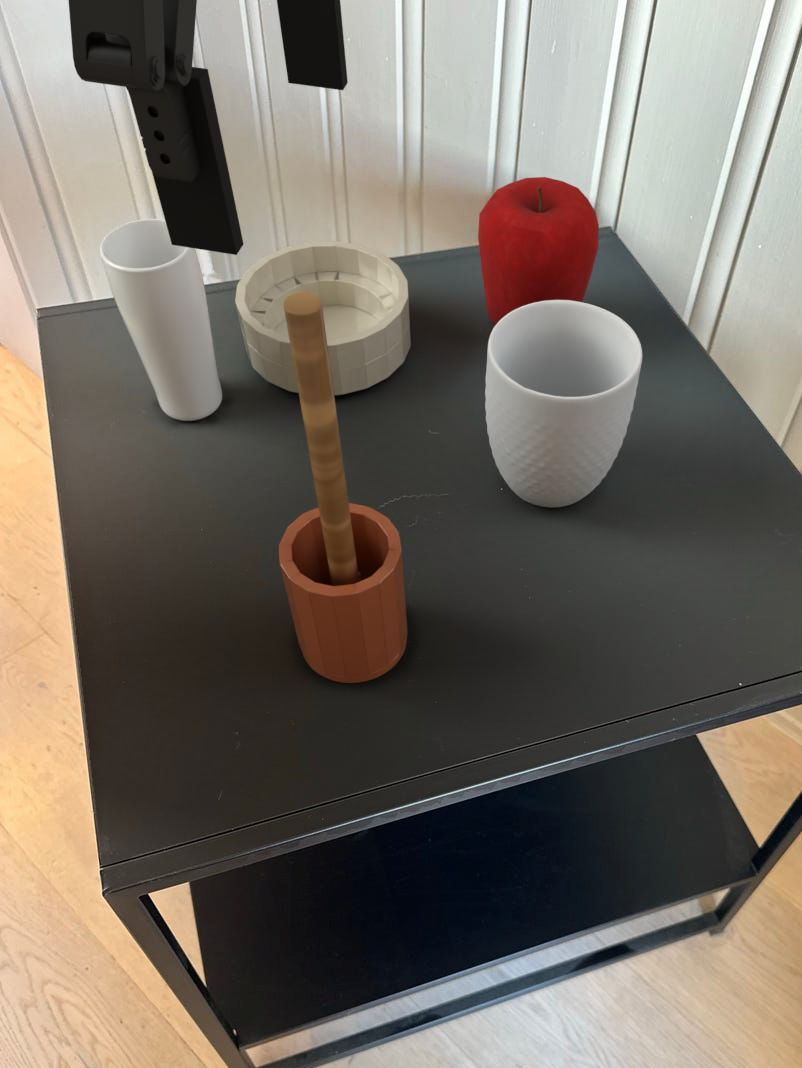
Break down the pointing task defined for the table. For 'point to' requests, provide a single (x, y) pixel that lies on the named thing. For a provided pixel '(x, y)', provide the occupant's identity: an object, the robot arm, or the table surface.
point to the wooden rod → (322, 431)
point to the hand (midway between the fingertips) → (268, 157)
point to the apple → (536, 244)
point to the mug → (559, 397)
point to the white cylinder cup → (165, 315)
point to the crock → (347, 597)
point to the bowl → (328, 312)
